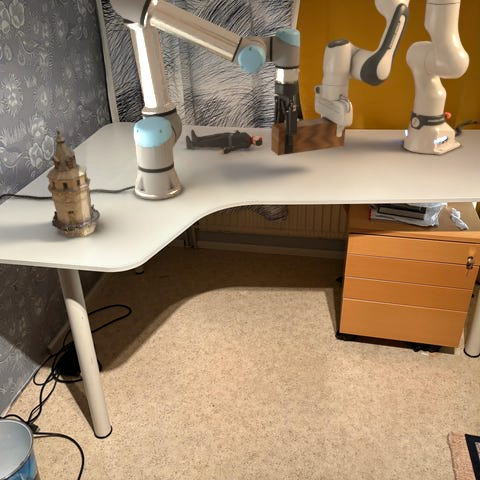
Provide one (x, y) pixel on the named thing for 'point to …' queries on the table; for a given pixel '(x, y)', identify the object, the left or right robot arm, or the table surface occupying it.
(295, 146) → the bar
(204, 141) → the toy
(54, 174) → the miniature building
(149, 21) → the left robot arm
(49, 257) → the table surface
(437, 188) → the table surface
